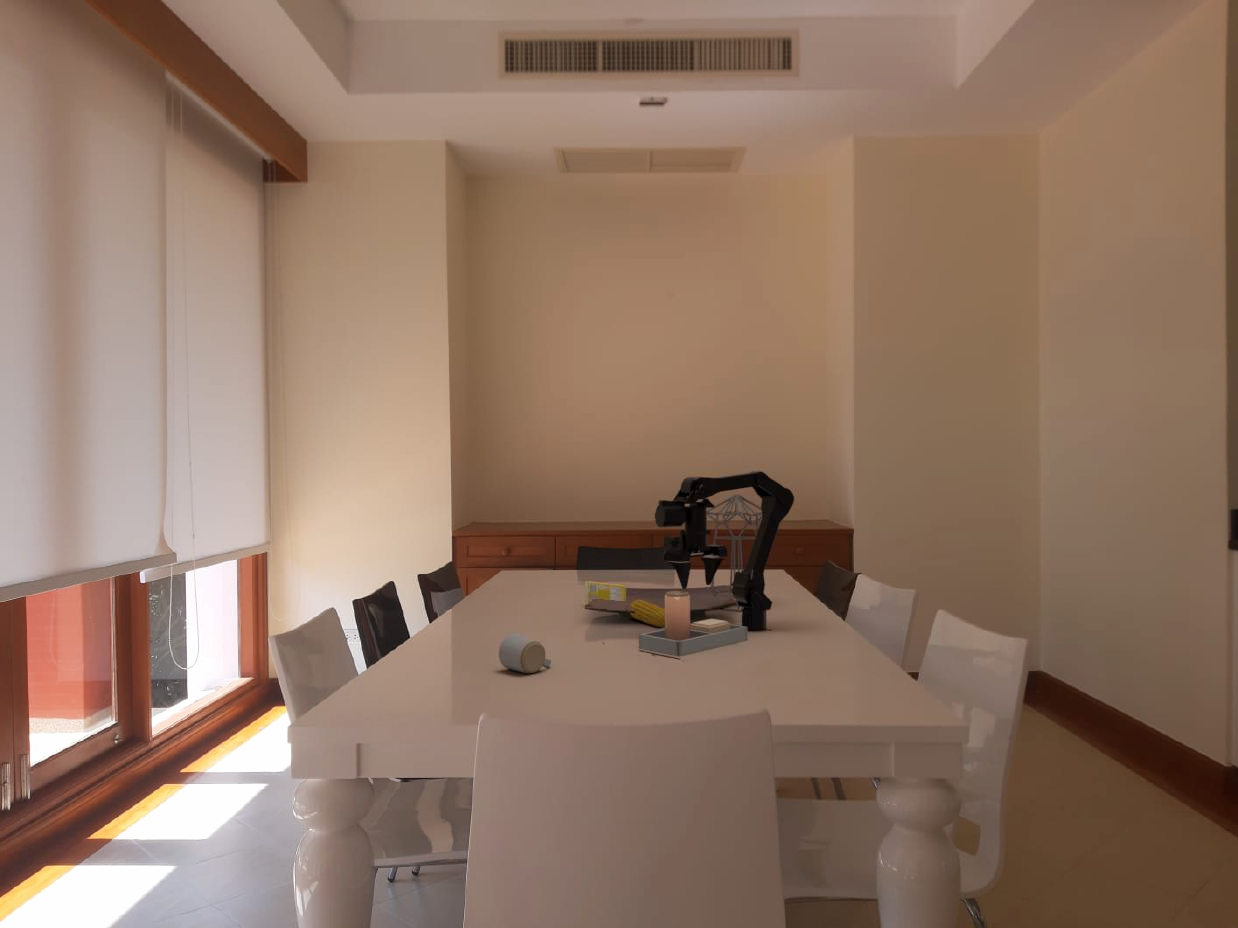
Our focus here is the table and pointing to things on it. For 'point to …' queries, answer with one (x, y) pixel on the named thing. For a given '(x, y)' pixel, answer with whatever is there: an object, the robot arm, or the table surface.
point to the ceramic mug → (522, 654)
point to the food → (648, 613)
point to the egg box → (710, 626)
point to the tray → (691, 641)
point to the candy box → (604, 591)
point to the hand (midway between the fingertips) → (696, 586)
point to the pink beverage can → (677, 615)
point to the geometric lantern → (730, 500)
